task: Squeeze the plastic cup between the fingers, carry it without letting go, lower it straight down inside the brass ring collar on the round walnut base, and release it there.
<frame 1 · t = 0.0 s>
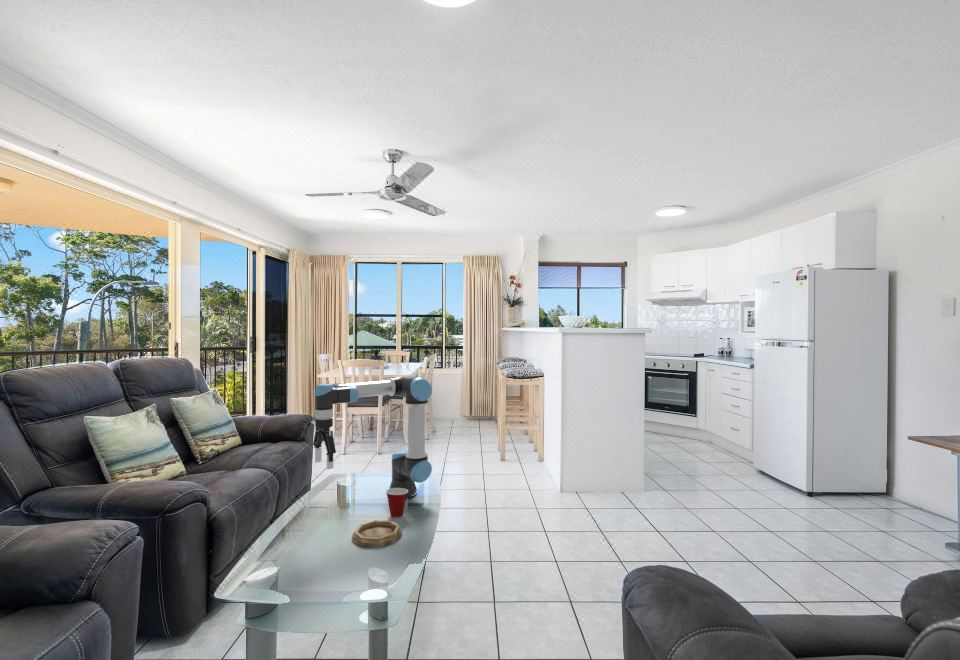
hand: (324, 465, 202), 28 cm above the table, tool pointing down, fingers open, 13 cm apart
plastic cup: (397, 515, 216), on the table
ring base: (377, 535, 193), on the table
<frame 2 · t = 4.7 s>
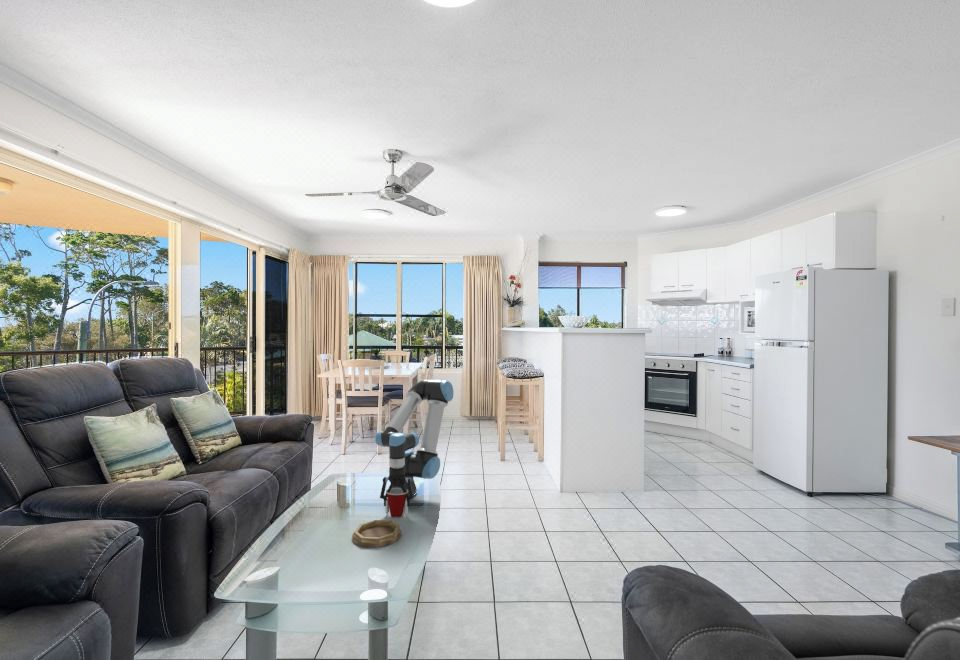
hand: (397, 512, 216), 1 cm above the table, tool pointing down, fingers closed on plastic cup, 9 cm apart
plastic cup: (397, 515, 216), on the table, touching gripper
when the fingers open (3 cm above the table, at t = 11.2 s): plastic cup drops 1 cm, resting on ring base.
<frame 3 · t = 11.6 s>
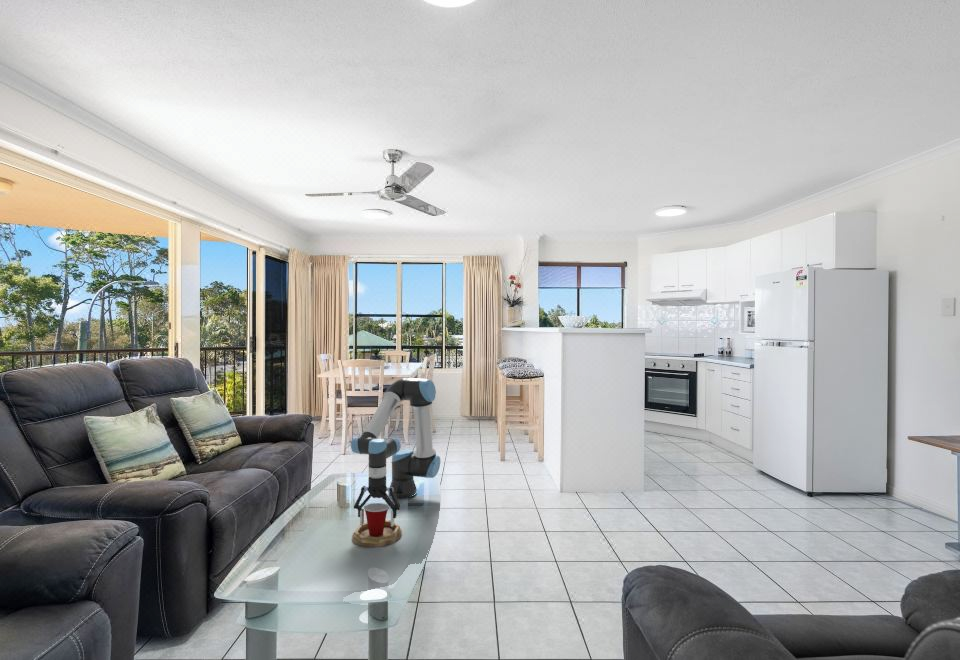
hand: (377, 525, 193), 5 cm above the table, tool pointing down, fingers open, 13 cm apart
plastic cup: (376, 534, 193), point 1 cm above the table, touching ring base
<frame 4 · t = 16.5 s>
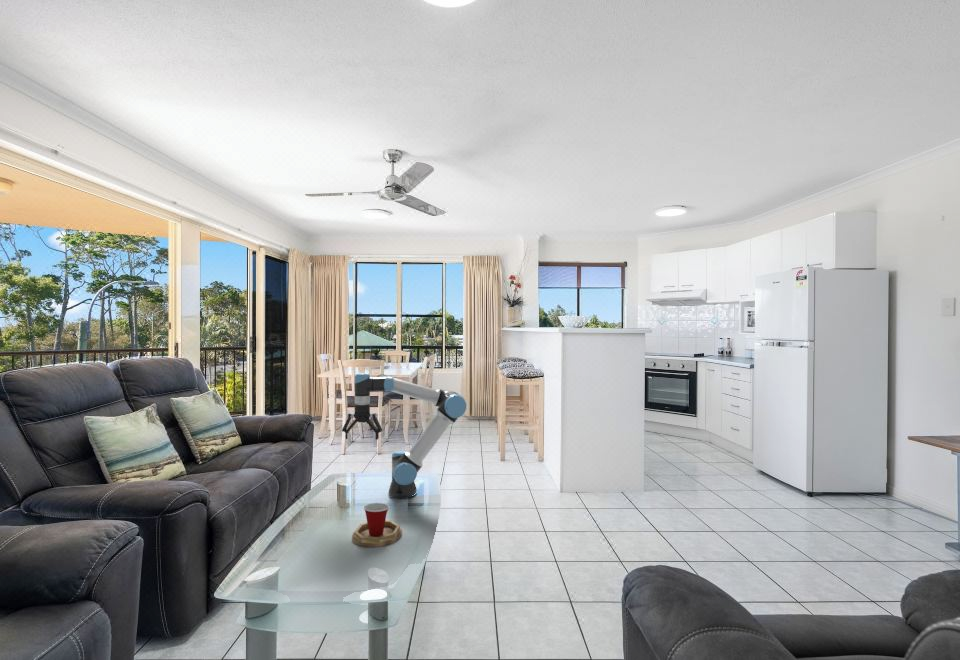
hand: (362, 445, 227), 31 cm above the table, tool pointing down, fingers open, 13 cm apart
nothing on the table moved.
at the end: plastic cup 0.2 cm off-centre on the ring base, point 0.8 cm above the ring base's base; plastic cup tilted 0°; the gripper is holding nothing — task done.
